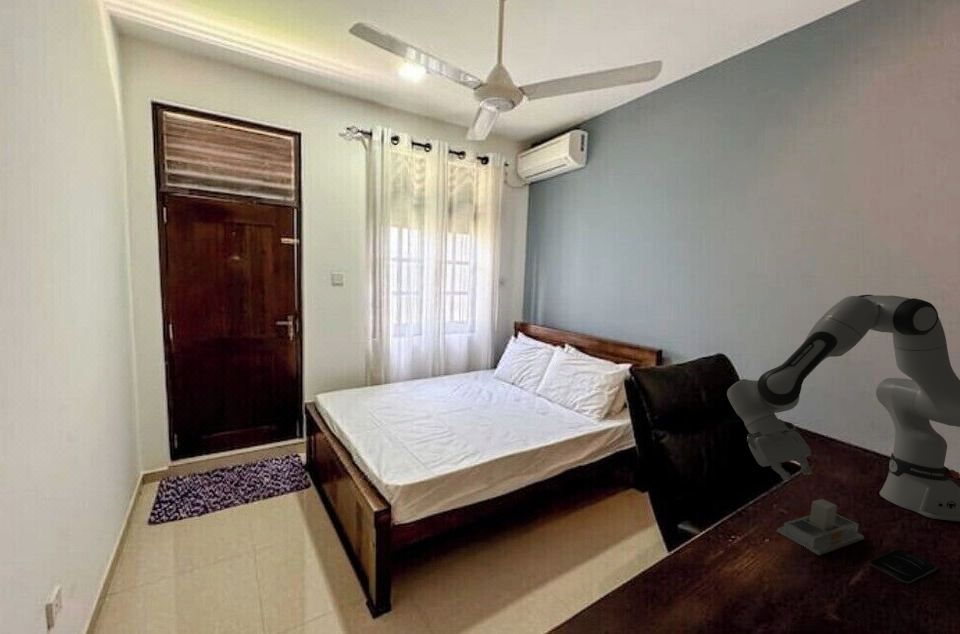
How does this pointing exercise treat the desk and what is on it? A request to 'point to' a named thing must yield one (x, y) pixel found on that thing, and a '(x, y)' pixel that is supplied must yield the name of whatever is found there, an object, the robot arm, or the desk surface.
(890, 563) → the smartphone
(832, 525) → the block
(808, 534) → the rack
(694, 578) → the desk surface
